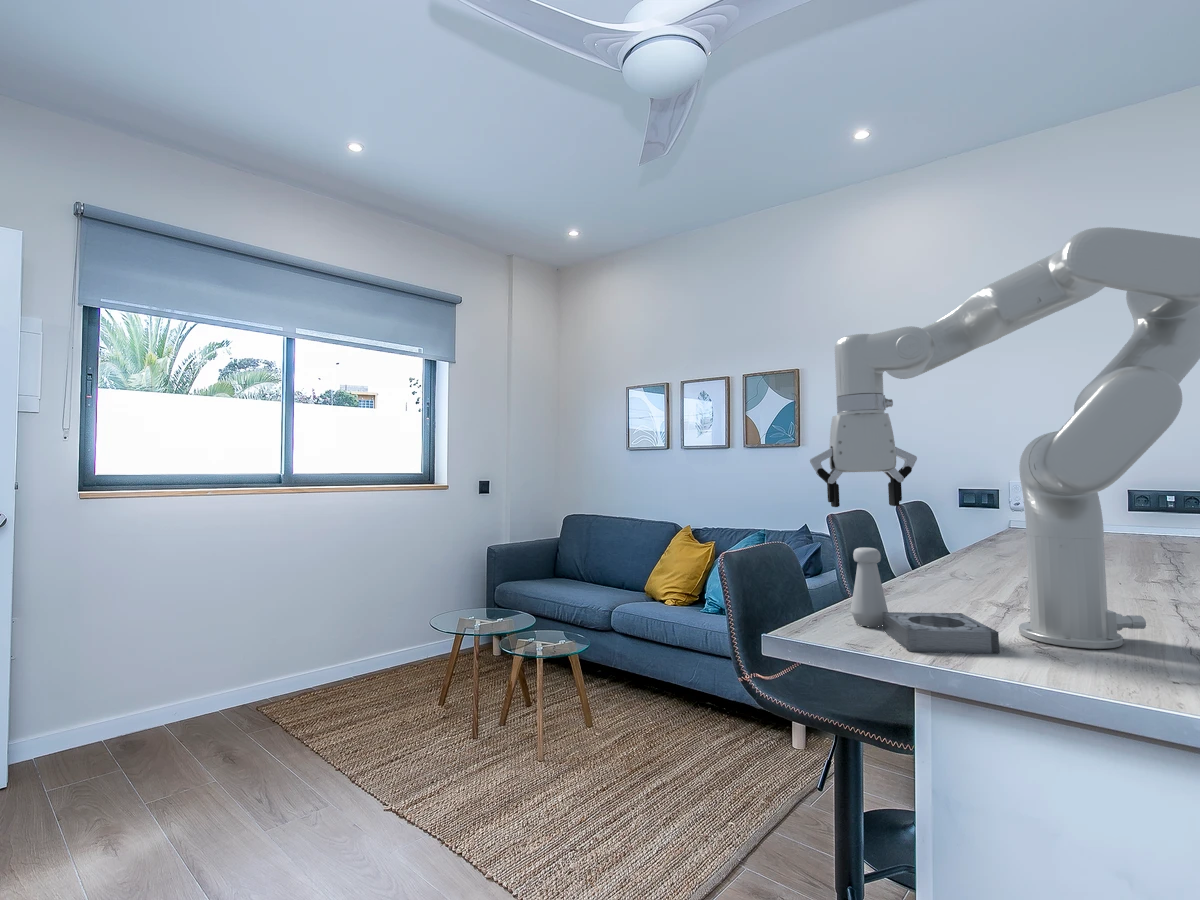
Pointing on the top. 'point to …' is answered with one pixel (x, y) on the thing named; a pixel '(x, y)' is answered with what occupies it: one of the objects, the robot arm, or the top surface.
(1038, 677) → the top surface
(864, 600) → the salt shaker
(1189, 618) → the top surface
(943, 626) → the block
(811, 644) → the top surface
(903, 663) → the top surface
